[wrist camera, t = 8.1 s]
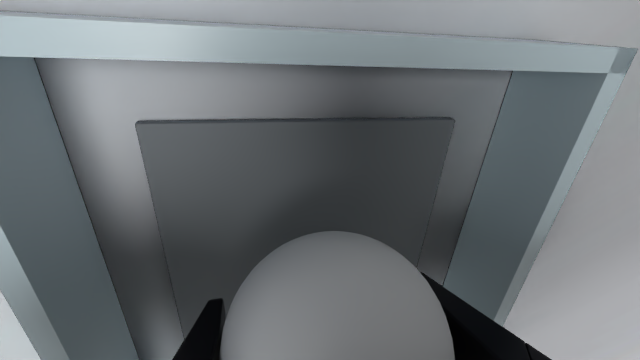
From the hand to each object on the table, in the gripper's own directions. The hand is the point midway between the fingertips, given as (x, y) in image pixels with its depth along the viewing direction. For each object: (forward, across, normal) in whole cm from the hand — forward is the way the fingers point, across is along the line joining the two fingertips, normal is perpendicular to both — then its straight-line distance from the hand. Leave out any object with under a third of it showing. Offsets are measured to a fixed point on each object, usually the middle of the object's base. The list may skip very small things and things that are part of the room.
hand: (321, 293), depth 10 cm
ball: (+1, 0, 0) cm, 1 cm away
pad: (+3, 0, 0) cm, 3 cm away
